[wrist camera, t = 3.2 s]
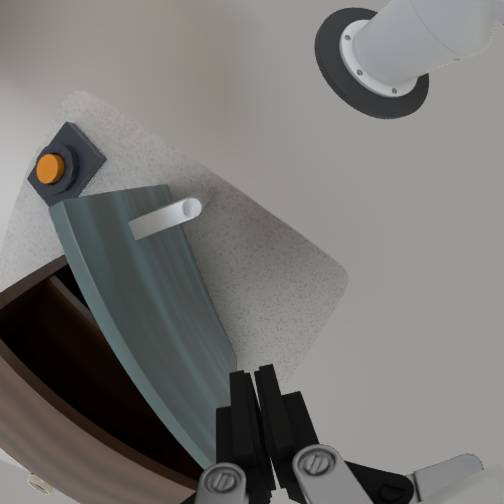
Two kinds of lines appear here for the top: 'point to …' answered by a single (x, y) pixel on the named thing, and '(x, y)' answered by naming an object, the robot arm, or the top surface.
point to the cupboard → (80, 402)
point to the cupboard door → (152, 304)
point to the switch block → (68, 165)
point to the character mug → (40, 484)
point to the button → (50, 168)
